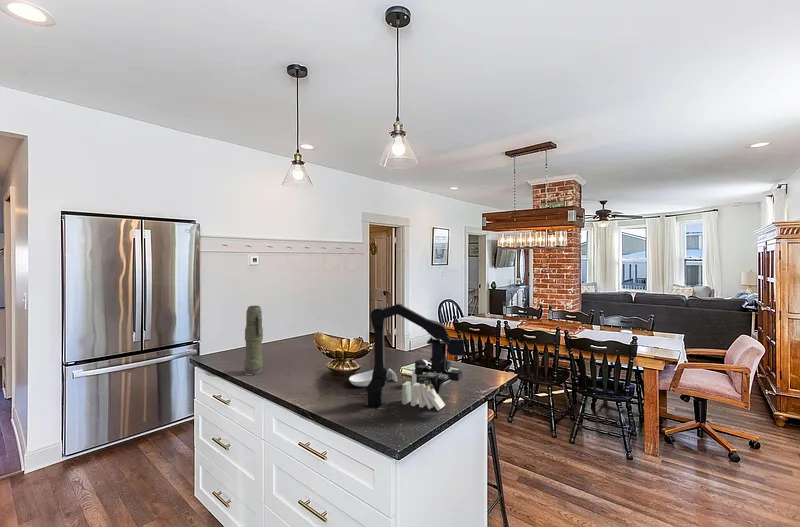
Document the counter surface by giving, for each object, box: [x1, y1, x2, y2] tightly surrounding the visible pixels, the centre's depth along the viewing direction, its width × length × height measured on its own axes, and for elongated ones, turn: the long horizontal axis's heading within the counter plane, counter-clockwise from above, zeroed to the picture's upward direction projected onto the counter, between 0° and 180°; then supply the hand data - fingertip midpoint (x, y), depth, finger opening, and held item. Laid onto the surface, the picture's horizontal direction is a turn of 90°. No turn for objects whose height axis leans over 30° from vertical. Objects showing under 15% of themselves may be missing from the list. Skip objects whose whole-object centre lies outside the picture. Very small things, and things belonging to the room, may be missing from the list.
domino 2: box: [416, 384, 427, 408], centre depth 157 cm, size 2×5×8 cm, turn 152°
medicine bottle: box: [411, 359, 432, 388], centre depth 183 cm, size 7×7×12 cm
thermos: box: [243, 305, 264, 374], centre depth 201 cm, size 9×12×35 cm
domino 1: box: [410, 383, 420, 407], centre depth 159 cm, size 2×5×8 cm, turn 152°
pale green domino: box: [401, 380, 412, 406], centre depth 161 cm, size 2×5×8 cm, turn 152°
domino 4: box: [426, 387, 446, 412], centre depth 155 cm, size 2×5×8 cm
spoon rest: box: [348, 368, 398, 388], centre depth 186 cm, size 24×12×7 cm, turn 113°
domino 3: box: [421, 385, 435, 410], centre depth 156 cm, size 2×5×8 cm, turn 152°
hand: (437, 393), depth 154 cm, fingers closed
